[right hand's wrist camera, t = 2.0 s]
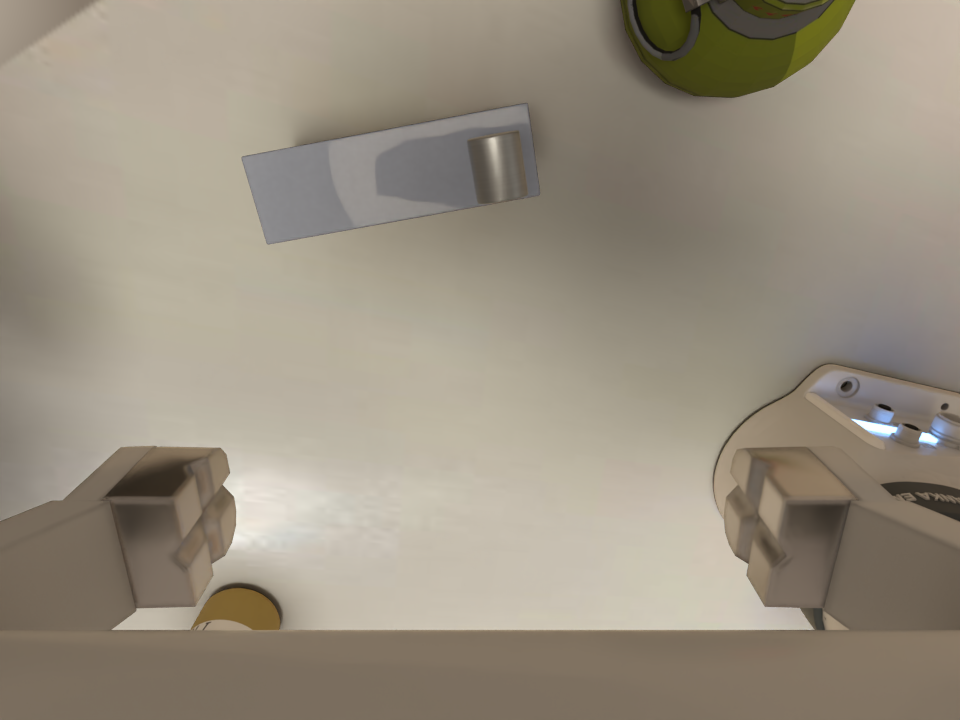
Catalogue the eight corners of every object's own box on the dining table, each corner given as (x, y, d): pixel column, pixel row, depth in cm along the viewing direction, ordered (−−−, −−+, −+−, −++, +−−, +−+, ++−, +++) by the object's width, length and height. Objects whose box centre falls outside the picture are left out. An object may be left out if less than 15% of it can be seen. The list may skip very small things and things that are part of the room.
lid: (526, 103, 33) (542, 98, 25) (539, 193, 34) (558, 217, 26) (246, 155, 33) (173, 168, 25) (271, 242, 35) (210, 279, 27)
